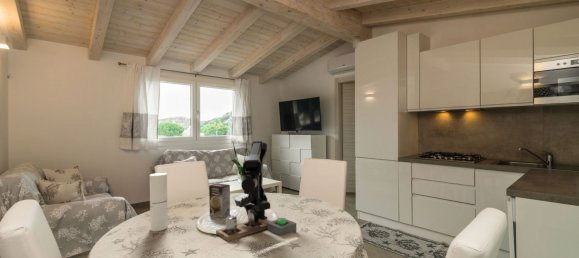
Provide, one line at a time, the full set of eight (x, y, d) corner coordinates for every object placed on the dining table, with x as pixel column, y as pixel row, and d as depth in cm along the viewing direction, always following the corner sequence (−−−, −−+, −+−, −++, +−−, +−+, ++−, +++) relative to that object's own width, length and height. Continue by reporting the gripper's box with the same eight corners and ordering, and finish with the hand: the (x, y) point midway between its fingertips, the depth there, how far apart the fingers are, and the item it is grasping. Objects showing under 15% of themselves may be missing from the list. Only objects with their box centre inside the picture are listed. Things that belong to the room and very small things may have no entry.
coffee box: (209, 215, 140) (208, 185, 140) (217, 212, 146) (217, 182, 145) (222, 218, 136) (221, 186, 136) (230, 214, 141) (230, 184, 141)
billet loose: (246, 224, 120) (246, 209, 120) (254, 222, 123) (254, 207, 123) (251, 227, 117) (251, 211, 117) (260, 224, 120) (259, 209, 120)
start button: (275, 224, 117) (275, 219, 117) (282, 221, 120) (282, 217, 120) (281, 226, 114) (281, 221, 114) (288, 224, 117) (288, 219, 117)
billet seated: (224, 234, 113) (224, 217, 113) (233, 231, 116) (233, 215, 116) (229, 237, 110) (229, 220, 109) (238, 234, 112) (238, 217, 112)
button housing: (267, 232, 117) (267, 222, 117) (283, 226, 123) (282, 218, 123) (280, 238, 110) (280, 228, 110) (296, 232, 116) (296, 223, 116)
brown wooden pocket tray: (216, 236, 113) (216, 230, 113) (255, 224, 127) (255, 219, 127) (227, 243, 106) (227, 237, 106) (268, 230, 119) (268, 224, 119)
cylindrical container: (160, 231, 119) (159, 175, 119) (146, 230, 121) (145, 175, 121) (171, 225, 126) (170, 173, 126) (157, 224, 128) (156, 172, 128)
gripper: (226, 186, 121) (226, 220, 122) (248, 193, 107) (249, 232, 108) (247, 182, 129) (247, 215, 129) (270, 189, 115) (271, 225, 115)
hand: (253, 221), depth 120 cm, fingers closed on billet loose, 4 cm apart
